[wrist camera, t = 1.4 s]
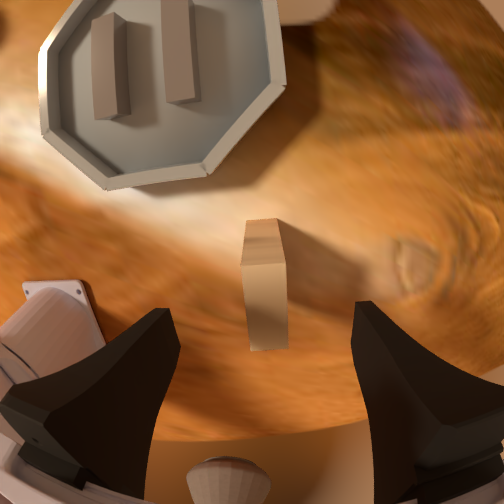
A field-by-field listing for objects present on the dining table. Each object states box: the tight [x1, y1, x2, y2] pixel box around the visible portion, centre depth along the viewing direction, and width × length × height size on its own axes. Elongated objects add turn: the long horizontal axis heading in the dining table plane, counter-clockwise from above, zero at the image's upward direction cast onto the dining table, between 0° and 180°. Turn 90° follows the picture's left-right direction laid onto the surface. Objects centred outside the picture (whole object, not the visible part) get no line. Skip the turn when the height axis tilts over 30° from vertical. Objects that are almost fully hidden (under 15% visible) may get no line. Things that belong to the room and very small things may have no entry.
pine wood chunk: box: [241, 218, 288, 351], centre depth 17 cm, size 5×2×7 cm, turn 5°
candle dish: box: [38, 0, 287, 191], centre depth 14 cm, size 16×16×3 cm
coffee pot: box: [186, 456, 271, 504], centre depth 24 cm, size 21×12×15 cm, turn 9°
